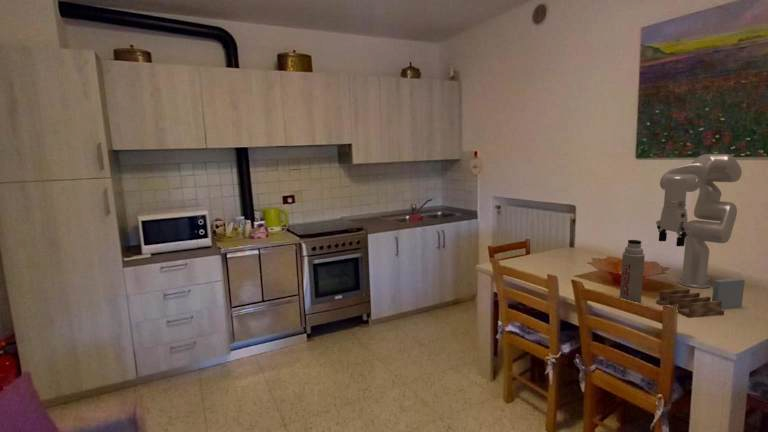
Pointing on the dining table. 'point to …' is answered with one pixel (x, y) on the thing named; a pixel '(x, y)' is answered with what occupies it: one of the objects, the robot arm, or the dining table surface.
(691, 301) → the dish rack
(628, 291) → the thermos bottle
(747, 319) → the dining table surface
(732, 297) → the grey square block
